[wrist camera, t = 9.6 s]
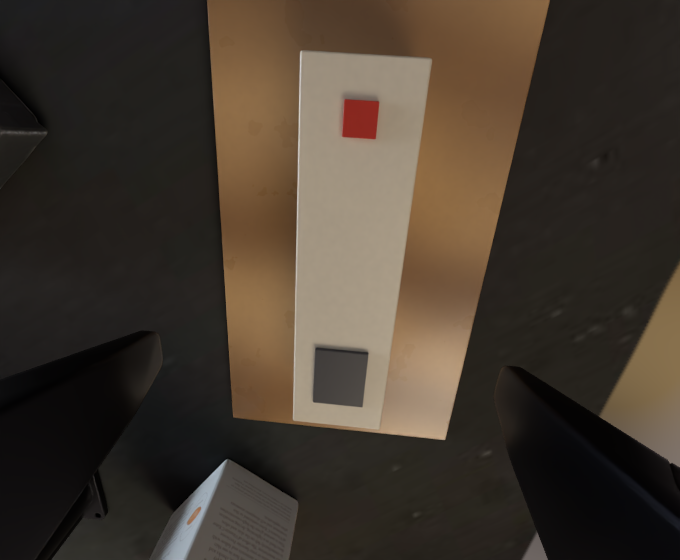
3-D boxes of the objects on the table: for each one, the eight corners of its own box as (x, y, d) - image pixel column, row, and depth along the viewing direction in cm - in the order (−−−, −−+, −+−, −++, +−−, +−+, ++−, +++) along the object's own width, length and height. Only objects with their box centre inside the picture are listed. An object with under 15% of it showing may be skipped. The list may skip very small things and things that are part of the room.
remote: (378, 392, 20) (379, 433, 17) (302, 385, 20) (291, 424, 17) (420, 72, 14) (434, 56, 11) (311, 65, 14) (298, 47, 11)
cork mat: (443, 432, 22) (445, 440, 21) (236, 411, 22) (232, 418, 22) (546, -8, 13) (554, -14, 13) (210, -26, 14) (204, -33, 13)
